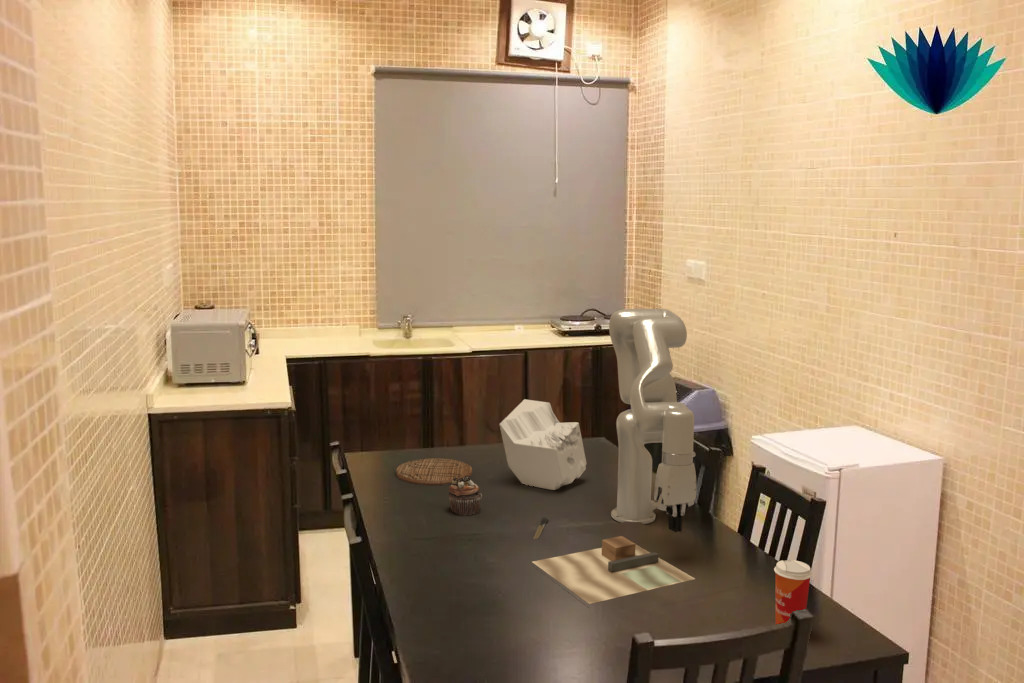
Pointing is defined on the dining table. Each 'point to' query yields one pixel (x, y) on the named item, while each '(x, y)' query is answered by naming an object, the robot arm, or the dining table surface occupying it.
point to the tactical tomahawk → (540, 527)
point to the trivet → (433, 471)
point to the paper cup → (790, 588)
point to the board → (608, 575)
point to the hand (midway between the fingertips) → (674, 530)
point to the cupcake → (464, 496)
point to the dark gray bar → (633, 561)
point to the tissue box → (542, 446)
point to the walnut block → (618, 548)
